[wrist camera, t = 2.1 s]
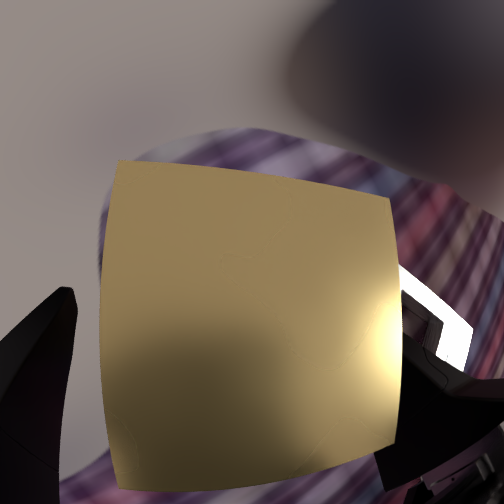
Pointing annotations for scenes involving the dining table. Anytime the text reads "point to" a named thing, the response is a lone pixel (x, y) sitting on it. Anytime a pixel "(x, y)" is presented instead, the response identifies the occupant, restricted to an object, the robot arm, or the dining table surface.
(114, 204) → the gold block
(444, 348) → the bracket
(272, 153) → the dining table surface
